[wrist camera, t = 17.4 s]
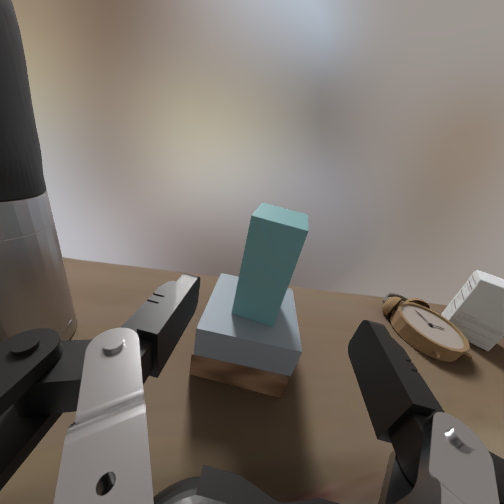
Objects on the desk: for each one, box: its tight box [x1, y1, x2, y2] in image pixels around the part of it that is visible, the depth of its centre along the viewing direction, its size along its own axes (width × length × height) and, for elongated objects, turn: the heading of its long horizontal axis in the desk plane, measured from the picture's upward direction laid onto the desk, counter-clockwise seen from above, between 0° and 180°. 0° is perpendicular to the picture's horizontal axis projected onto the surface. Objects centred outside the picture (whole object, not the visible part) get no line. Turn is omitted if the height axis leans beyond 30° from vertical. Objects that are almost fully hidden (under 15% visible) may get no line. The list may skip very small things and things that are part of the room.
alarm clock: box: [382, 293, 472, 362], centre depth 40 cm, size 11×5×15 cm
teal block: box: [231, 203, 308, 327], centre depth 22 cm, size 5×5×12 cm
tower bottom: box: [190, 350, 289, 398], centre depth 28 cm, size 11×11×4 cm
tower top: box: [194, 273, 302, 376], centre depth 26 cm, size 11×11×4 cm
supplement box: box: [441, 270, 504, 351], centre depth 40 cm, size 7×7×13 cm
